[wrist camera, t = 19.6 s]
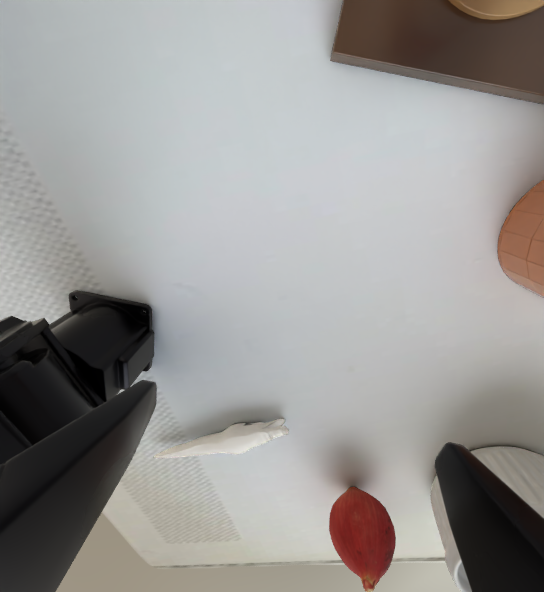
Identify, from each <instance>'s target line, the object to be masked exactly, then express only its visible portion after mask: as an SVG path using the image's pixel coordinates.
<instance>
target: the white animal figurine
mask: <svg viewBox="0 0 544 592" xmlns="http://www.w3.org/2000/svg"><path fill="white" fill-rule="evenodd" d="M284 423H285V420H284V419H276V420H274V421H271V422H268V423H262V422H258V423H239V424H234V425H231V426H230V427H228V428H227V429H225V430H224V431H223V432H220V433H215V434H210V435H206V436H203V437H200V438H198V439H195V440H193V441H190V442H188V443H185V444H180V445H177V446H174V447H172V448H169V449H167V450H165V451H162V452H160V453H158V454H156V455H155V456H154V457H153V458H176V457H186V456H196V455H207V454H213V453H228V454H242V453H245V452H247V451H248V450H250V449H252V448H254V447H256V446H258V445H262V444H265V443H267V442H269V441H272V439H274V438H276V437H278V436H284V435H288V434H289V429H288V428H287V427H286V426H282V425H283V424H284Z"/></svg>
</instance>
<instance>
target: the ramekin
mask: <svg viewBox="0 0 544 592" xmlns="http://www.w3.org/2000/svg"><path fill="white" fill-rule="evenodd" d="M470 452H471V453H472V454H473V455H474V456H475V457H477V458H478V459H479V460H480V461H481V462H482V463H483V464H484V465H485V466H487V467H488V468H489V469H490V470H491V471H492V472H493V473H494V474H495V475H496V476H498V477H499V478H500V479H501V480H502V481H503V482H504V483H505V484H506V485H508V486H509V487H510V488H511V489H512V490H513V491H514V492H515V493H516V494H517V495H519V496H520V497H521V498H522V499H523V500H524V501H525V502H526V503H527V504H529V505H530V506H531V507H532V508H533V509H534V510H535V511H536V512H537V513H539V514H540V515H541V516H542V517H543V518H544V456H542V455H540V454H537V453H534V452H531V451H528V450H525V449H522V448H517V447H506V446H496V447H486V448H481V449H476V450H473V451H470ZM431 503H432V508H433V512H434V516H435V519H436V523H437V526H438V530H439V533H440V536H441V540H442V543H443V546H444V549H445V560H446V564H447V567H448V569H449V572H450V574H451V576H452V579H453V581H454V583H455V584H456V586H457V587H458V588H459V590H460V591H462V592H472V590H471V587H470V584H469V581H468V578H467V576H466V573H465V570H464V567H463V564H462V561H461V558H460V555H459V552H458V549H457V546H456V543H455V540H454V537H453V534H452V531H451V528H450V525H449V521H448V517H447V514H446V510H445V506H444V502H443V498H442V493H441V489H440V485H439V481H438V477H437V475H436V477H435V479H434V482H433V484H432V488H431Z"/></svg>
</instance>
